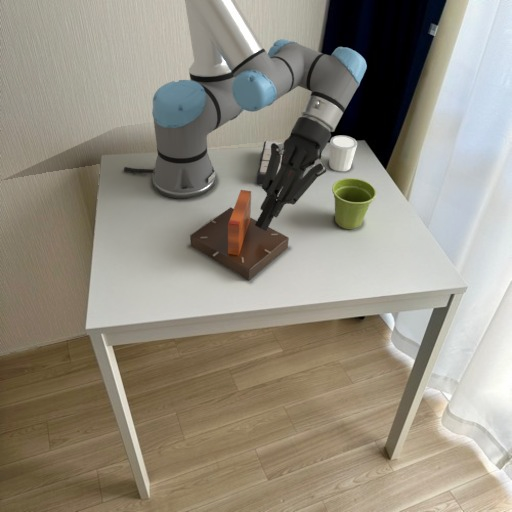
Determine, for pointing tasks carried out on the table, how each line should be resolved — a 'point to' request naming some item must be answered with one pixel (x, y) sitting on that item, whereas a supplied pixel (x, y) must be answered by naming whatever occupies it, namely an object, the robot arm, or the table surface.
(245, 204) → the pointer
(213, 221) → the dial panel
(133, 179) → the table surface
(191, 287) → the table surface
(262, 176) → the calculator
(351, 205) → the plant pot
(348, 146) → the white fluted cup
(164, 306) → the table surface
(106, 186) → the table surface
